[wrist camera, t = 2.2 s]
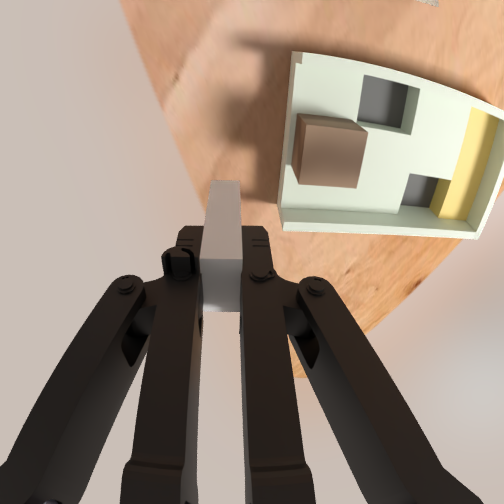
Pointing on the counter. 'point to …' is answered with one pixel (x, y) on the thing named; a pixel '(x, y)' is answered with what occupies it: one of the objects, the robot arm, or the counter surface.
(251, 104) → the counter surface
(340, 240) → the counter surface
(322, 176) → the block
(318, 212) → the box
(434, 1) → the condiment
